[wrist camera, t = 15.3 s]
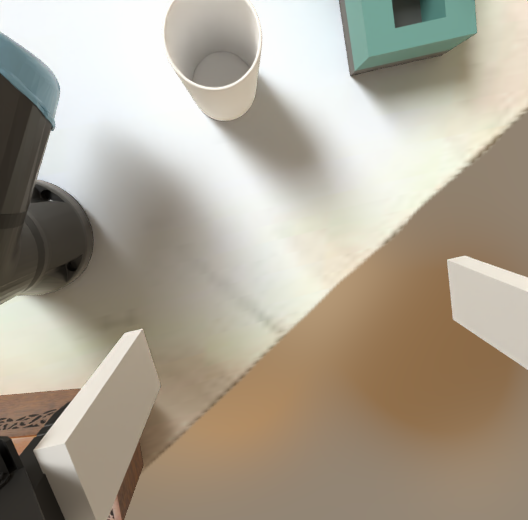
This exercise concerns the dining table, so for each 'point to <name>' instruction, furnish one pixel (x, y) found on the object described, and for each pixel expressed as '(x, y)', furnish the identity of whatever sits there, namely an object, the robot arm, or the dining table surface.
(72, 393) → the tissue box cover
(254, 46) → the cup
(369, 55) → the socket block
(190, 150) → the dining table surface
